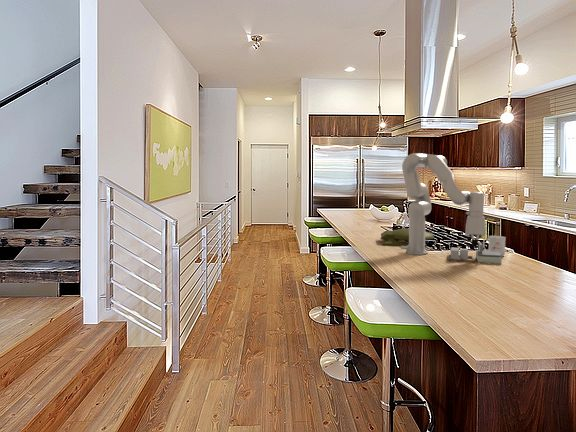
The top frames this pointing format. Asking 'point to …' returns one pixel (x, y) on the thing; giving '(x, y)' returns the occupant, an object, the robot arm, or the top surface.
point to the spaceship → (400, 237)
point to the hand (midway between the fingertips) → (474, 246)
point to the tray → (461, 259)
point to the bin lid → (487, 252)
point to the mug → (496, 244)
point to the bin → (488, 259)
